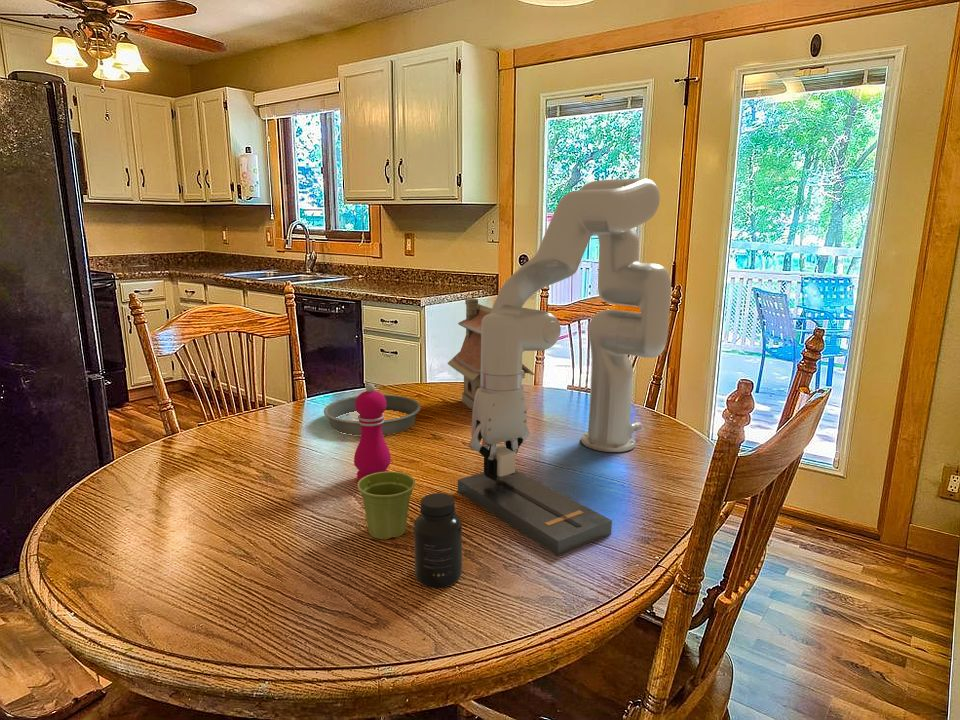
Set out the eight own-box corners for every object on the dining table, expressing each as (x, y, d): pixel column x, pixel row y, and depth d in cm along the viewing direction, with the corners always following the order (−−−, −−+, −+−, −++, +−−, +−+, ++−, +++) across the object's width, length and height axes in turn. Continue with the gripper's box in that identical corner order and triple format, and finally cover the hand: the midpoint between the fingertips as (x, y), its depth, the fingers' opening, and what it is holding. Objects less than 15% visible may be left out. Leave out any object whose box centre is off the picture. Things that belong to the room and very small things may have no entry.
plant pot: (425, 523, 102) (424, 475, 101) (400, 550, 94) (399, 499, 92) (376, 514, 105) (375, 468, 104) (348, 539, 97) (346, 489, 95)
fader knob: (484, 475, 114) (484, 448, 113) (498, 471, 116) (499, 444, 115) (500, 484, 110) (500, 456, 109) (514, 480, 112) (515, 452, 111)
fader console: (457, 491, 115) (457, 479, 114) (506, 477, 121) (507, 465, 121) (557, 556, 92) (558, 540, 92) (611, 534, 99) (612, 519, 99)
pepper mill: (383, 489, 115) (381, 389, 111) (348, 486, 117) (344, 387, 112) (396, 474, 122) (394, 380, 118) (363, 471, 124) (359, 378, 119)
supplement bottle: (415, 563, 90) (414, 489, 87) (460, 562, 91) (460, 488, 88) (414, 590, 83) (413, 511, 81) (463, 588, 84) (463, 510, 81)
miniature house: (475, 426, 152) (476, 309, 146) (446, 401, 174) (446, 298, 168) (539, 419, 159) (543, 306, 152) (503, 395, 181) (505, 296, 174)
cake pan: (374, 404, 171) (373, 389, 171) (440, 420, 157) (440, 404, 157) (304, 426, 152) (303, 409, 151) (372, 447, 138) (371, 428, 137)
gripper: (522, 371, 117) (520, 459, 121) (451, 383, 107) (451, 478, 111) (548, 379, 111) (545, 471, 115) (476, 392, 101) (475, 492, 105)
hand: (499, 473), depth 113 cm, fingers closed on fader knob, 3 cm apart
